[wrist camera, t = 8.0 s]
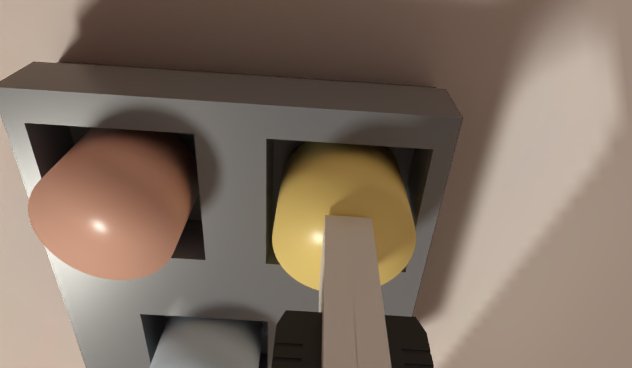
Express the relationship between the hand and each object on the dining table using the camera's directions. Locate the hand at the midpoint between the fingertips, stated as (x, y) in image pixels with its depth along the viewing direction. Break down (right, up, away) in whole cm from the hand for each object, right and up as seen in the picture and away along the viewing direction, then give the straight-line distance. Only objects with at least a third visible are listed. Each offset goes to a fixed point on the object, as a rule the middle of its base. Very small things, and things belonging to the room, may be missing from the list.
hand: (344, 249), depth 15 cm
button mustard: (0, +2, +3) cm, 4 cm away
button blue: (-6, -5, +8) cm, 11 cm away
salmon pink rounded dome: (-8, +3, +3) cm, 9 cm away
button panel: (-4, 0, +7) cm, 8 cm away
